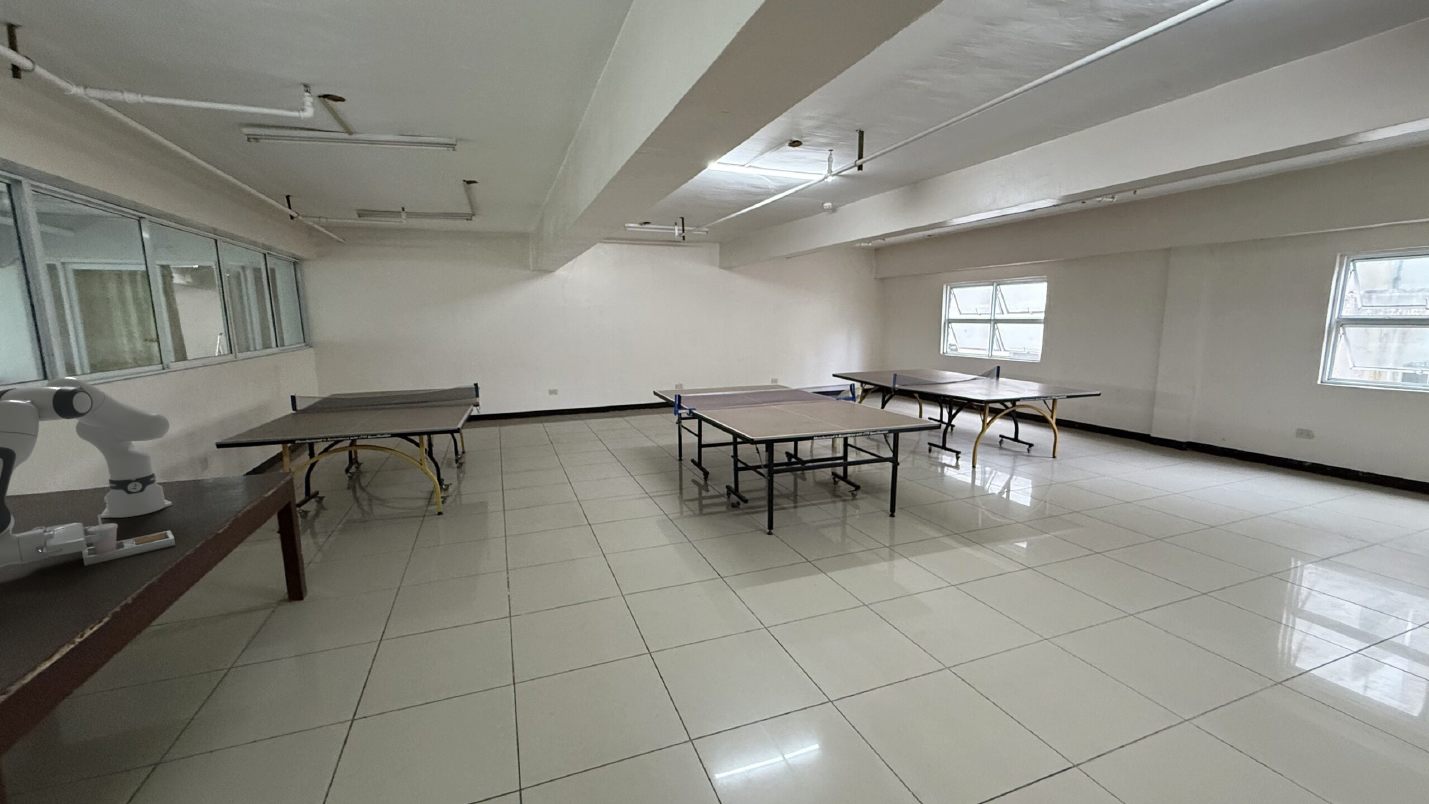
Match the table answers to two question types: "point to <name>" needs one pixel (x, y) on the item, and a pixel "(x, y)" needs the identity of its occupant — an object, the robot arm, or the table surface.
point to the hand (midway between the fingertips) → (107, 530)
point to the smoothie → (106, 543)
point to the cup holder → (130, 547)
